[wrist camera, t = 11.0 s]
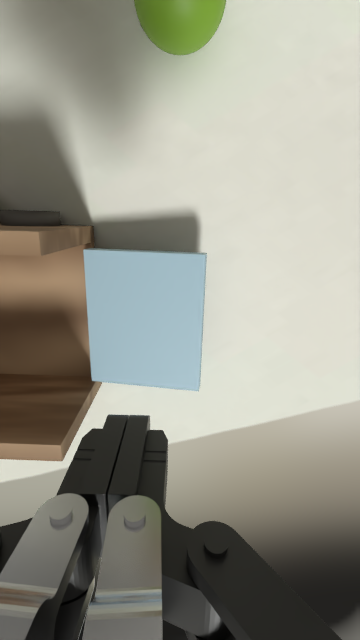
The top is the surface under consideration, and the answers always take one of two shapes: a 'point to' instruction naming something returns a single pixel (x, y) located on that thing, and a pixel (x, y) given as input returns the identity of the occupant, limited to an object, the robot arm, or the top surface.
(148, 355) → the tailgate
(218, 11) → the snail figurine
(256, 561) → the robot arm
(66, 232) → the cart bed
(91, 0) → the top surface
